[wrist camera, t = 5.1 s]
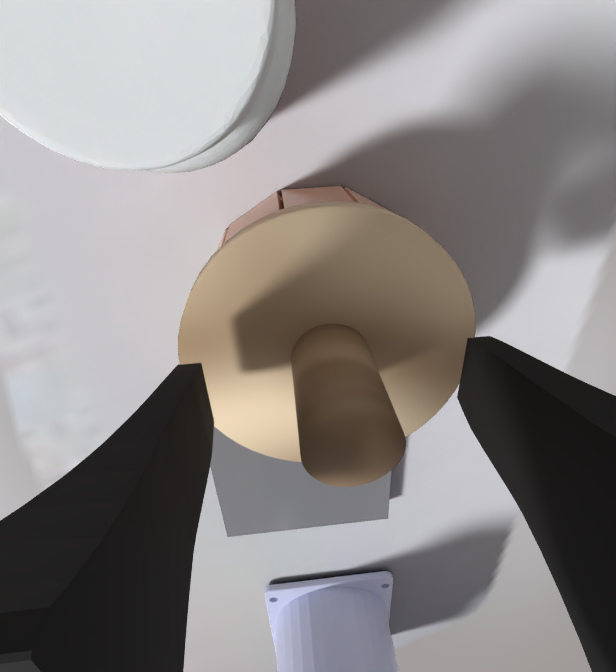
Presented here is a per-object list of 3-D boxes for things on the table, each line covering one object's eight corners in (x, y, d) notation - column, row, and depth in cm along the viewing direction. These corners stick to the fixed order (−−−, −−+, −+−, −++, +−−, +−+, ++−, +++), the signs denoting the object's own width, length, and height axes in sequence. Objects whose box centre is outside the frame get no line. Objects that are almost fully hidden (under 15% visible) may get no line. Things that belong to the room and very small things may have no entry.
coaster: (383, 502, 23) (387, 518, 22) (229, 519, 22) (227, 536, 21) (391, 378, 18) (397, 392, 17) (200, 397, 18) (197, 412, 17)
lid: (444, 434, 16) (505, 547, 12) (208, 457, 15) (189, 583, 11) (488, 190, 11) (609, 243, 7) (152, 211, 11) (86, 279, 7)
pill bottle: (295, -38, 11) (356, -295, 4) (271, 154, 13) (280, 226, 6) (105, -88, 10) (-288, -540, 3) (115, 126, 12) (-92, 169, 5)
